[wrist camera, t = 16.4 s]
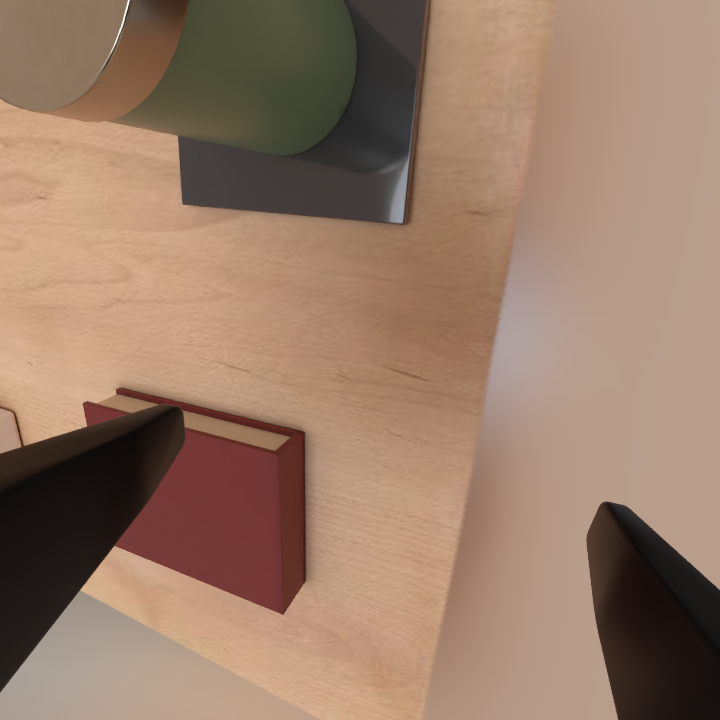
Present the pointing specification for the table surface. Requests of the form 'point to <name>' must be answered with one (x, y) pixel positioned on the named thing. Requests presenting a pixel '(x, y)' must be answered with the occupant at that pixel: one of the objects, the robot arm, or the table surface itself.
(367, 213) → the coaster
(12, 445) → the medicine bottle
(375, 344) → the table surface
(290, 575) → the book
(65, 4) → the tea tin
